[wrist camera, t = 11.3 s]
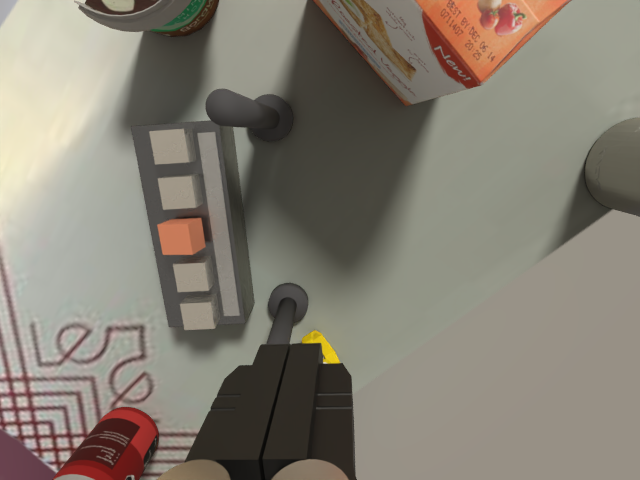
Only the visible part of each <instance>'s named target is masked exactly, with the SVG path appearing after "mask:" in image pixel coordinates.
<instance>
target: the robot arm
mask: <svg viewBox="0 0 640 480" xmlns="http://www.w3.org/2000/svg"><path fill="white" fill-rule="evenodd" d="M585 180H586V184H587V187H588V189H589V191H590V193H591V195H592V196H593V197H594V198H595V199H596V201H598V202H599V203H601V204H602V205H604V206H606V207H609V208H611V209H615V210H618V211H622V212H626V213H629V214H633V215H637V216H640V118H633V119H629V120H625V121H623V122H620V123H618V124H616V125H614V126H613V127H611V128H610V129H609V130H607V131H606V132H605V133H604V134H603V135H602V136H601V137H600V138H599V139H598V140H597V141H596V143H595V144H594V146H593V147H592V149H591V151H590V153H589V156H588V158H587V162H586V166H585ZM354 446H355V442H354V417H353V399H352V379H351V375H350V374H349V372H348V371H347V369H346V368H345V366H344V365H343V363H328V364H323V352H322V345H321V343H296V344H292V345H291V344H262V345H261V346H260V347H259V350H258V352H257V355H256V357H255V360H254V362H253V365H241V366H238V367H237V368H236V369H235V370H234V371H233V372H232V373H231V374H230V375H228V376H227V377H226V378H225V379H224V381H223V383H222V386H221V388H220V390H219V392H218V394H217V398H215V400H214V402H213V404H212V406H211V411H209V412H208V414H207V417H206V419H205V421H204V423H203V425H202V427H201V429H200V431H199V433H198V435H197V437H196V439H195V441H194V443H193V445H192V447H191V450H190V452H189V454H188V456H187V458H186V460H185V462H184V463H182V464H179V465H177V466H175V467H173V468H171V469H169V470H168V471H167V472H165V473H164V474H162V475H161V476H160V477H159V478H158V479H156V480H357V479H356V476H355V447H354Z"/></svg>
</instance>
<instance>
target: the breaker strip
mask: <svg viewBox="0 0 640 480" xmlns="http://www.w3.org/2000/svg"><path fill="white" fill-rule="evenodd" d="M131 129H132V135H133V140H134V145H135V151H136V156H137V161H138V166H139V172H140V177H141V182H142V188H143V193H144V198H145V203H146V209H147V214H148V219H149V225H150V230H151V235H152V240H153V246H154V251H155V256H156V262H157V267H158V272H159V277H160V283H161V288H162V293H163V299H164V304H165V309H166V314H167V320H168V325H169V327H180V326H184V330H198V329H215V327H216V326H217V325H221V324H242V323H246V320H247V318H248V316H249V314H250V312H251V309H252V307H253V305H254V303H255V302H254V294H253V286H252V278H251V270H250V261H249V253H248V245H247V237H246V229H245V221H244V213H243V204H242V196H241V188H240V180H239V172H238V164H237V155H236V147H235V139H234V131H233V127H230V126H220V125H217V124H215V123H214V122H213V121H212V120H211V121H198V122H184V123H171V124H157V125H143V126H131ZM186 218H201V220H202V226H203V233H204V239H205V246H206V247H205V248H203V249H201V250H200V251H198V252H196V253H195V254H193V255H163V253H162V248H161V242H160V237H159V231H158V226H157V225H158V224H161V223H163V222H166V221H168V220H171V219H186Z"/></svg>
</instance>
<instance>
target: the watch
mask: <svg viewBox="0 0 640 480" xmlns="http://www.w3.org/2000/svg"><path fill="white" fill-rule="evenodd" d="M302 343H321V345H322V352H323V355H324V357H325V359H323V364H328V363H340V361H339V359H338V357H337V355H336V353H335V351H334V350H333V348H332V347H331V346H330V345H329V343H328V342H327V341H326V340H325V338H324V337H323V336H322V334H321V333H320V332H318V331H315V330H314V331H312V332H311V333H309V334H308V335H306V336H304V337H303V338H302Z"/></svg>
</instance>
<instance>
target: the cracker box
mask: <svg viewBox="0 0 640 480" xmlns="http://www.w3.org/2000/svg"><path fill="white" fill-rule="evenodd" d="M313 1H314V2H315V3H316V4H317V5H318V6H319V8H320V9H321V10H322V11H323V12H324V14H325V15H326V16H327V17H328V18H329V19H330V20H331V22H332V23H333V24H334V25H335V26H336V27H337V28H338V30H339V31H340V32H341V33H342V34H343V35H344V36H345V37H346V39H347V40H348V41H349V42H350V43H351V44H352V45H353V47H354V48H355V49H356V50H357V51H358V52H359V53H360V55H361V56H362V57H363V58H364V59H365V60H366V62H367V63H368V64H369V65H370V66H371V67H372V68H373V70H374V71H375V72H376V73H377V74H378V75H379V76H380V78H381V79H382V80H383V81H384V82H385V83H386V84H387V85H388V87H389V88H390V89H391V90H392V91H393V92H394V94H395V95H396V96H397V97H398V98H399V99H400V100H401V101H402V103H403V104H404V105H405V106H408V105H412V104H416V103H419V102H423V101H427V100H430V99H434V98H438V97H441V96H445V95H449V94H452V93H456V92H459V91H462V90H466V89H470V88H473V87H477V86H480V85H482V84H484V83H485V82H486V81H487V80H488V79H489V78H490V77H491V76H492V75H493V74H494V73H495V72H496V71H497V70H498V69H499V68H500V67H501V66H502V65H504V64H505V63H506V62H507V61H508V60H509V59H510V58H511V57H512V56H513V55H514V54H515V53H516V52H517V51H518V50H519V49H520V48H521V47H522V46H523V45H524V44H525V43H526V42H527V41H528V40H529V39H531V38H532V37H533V36H534V35H535V34H536V33H537V32H538V31H539V30H540V29H541V28H542V27H543V26H544V25H545V24H546V23H547V22H548V21H549V20H550V19H551V18H552V17H553V16H554V15H556V14H557V13H558V12H559V11H560V10H561V9H562V8H563V7H564V6H565V5H566V4H568V3H569V2H570V1H571V0H313Z"/></svg>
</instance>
